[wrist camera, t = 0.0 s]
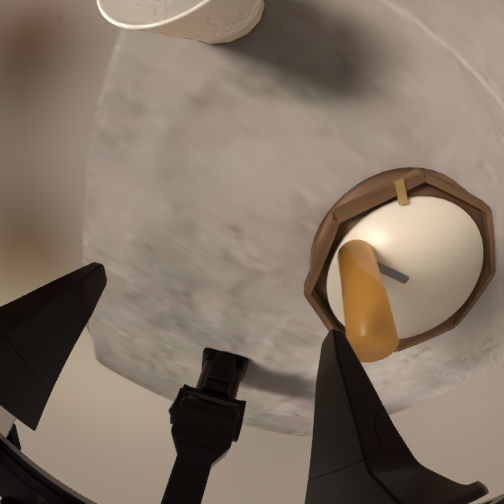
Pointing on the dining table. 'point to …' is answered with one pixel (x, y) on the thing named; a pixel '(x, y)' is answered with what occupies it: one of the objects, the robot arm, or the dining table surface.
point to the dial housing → (399, 187)
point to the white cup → (186, 17)
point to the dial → (403, 272)
